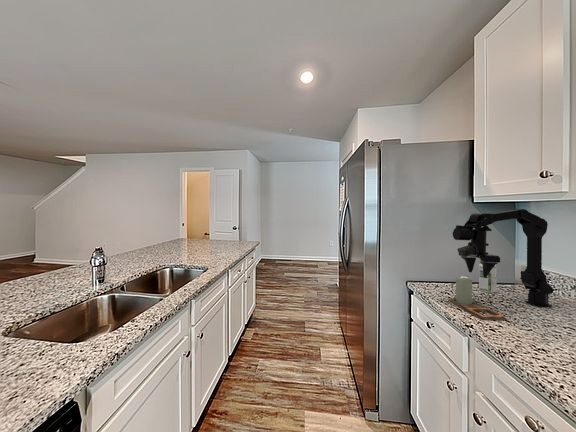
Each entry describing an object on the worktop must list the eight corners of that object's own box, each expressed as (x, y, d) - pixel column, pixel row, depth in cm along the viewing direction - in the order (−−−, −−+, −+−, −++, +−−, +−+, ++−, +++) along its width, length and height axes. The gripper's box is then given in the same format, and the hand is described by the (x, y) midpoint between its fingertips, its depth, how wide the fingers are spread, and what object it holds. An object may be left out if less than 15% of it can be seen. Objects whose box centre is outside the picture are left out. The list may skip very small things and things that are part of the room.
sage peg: (465, 302, 124) (465, 277, 124) (472, 306, 119) (471, 280, 119) (456, 302, 124) (455, 277, 124) (462, 306, 119) (462, 280, 119)
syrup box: (478, 290, 141) (478, 264, 141) (485, 289, 143) (485, 263, 143) (490, 293, 136) (490, 266, 136) (497, 292, 138) (496, 264, 138)
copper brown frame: (466, 300, 126) (466, 297, 126) (504, 319, 104) (504, 316, 104) (448, 301, 126) (448, 298, 126) (482, 320, 104) (482, 316, 104)
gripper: (448, 238, 129) (447, 269, 129) (475, 242, 110) (474, 279, 110) (470, 238, 129) (469, 270, 129) (501, 243, 110) (500, 279, 110)
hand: (477, 274), depth 120 cm, fingers open, 9 cm apart
